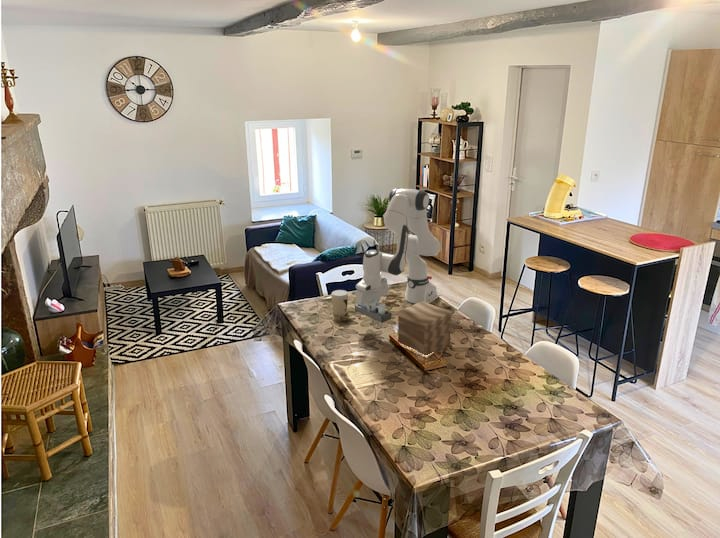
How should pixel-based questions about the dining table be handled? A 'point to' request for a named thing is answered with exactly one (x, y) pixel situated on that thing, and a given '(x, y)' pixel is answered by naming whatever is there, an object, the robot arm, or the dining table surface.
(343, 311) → the coffee cup
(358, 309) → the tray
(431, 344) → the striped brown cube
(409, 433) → the dining table surface
